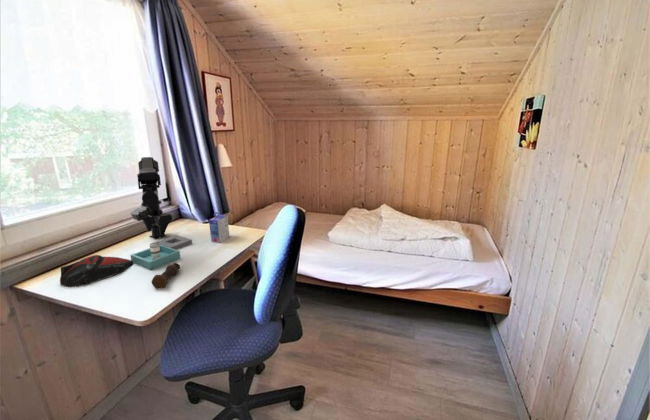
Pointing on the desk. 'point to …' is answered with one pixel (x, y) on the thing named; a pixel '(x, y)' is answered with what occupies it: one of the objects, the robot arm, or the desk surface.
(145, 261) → the parts tray
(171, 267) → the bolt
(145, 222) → the robot arm
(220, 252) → the desk surface
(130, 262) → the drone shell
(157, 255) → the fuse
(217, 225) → the ink cartridge box
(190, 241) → the frame
